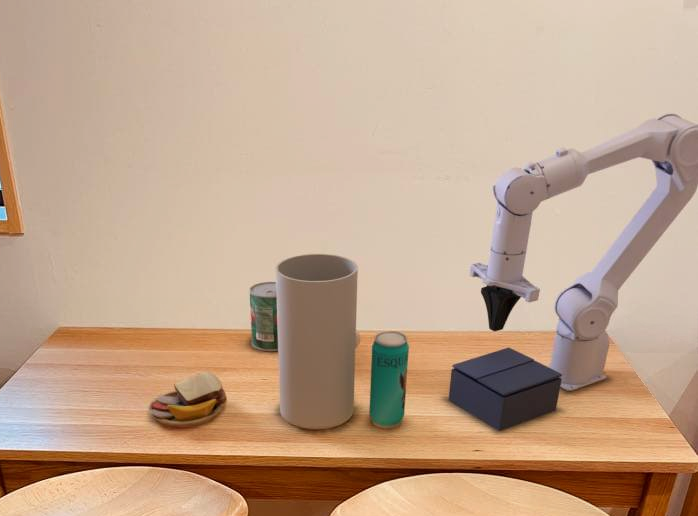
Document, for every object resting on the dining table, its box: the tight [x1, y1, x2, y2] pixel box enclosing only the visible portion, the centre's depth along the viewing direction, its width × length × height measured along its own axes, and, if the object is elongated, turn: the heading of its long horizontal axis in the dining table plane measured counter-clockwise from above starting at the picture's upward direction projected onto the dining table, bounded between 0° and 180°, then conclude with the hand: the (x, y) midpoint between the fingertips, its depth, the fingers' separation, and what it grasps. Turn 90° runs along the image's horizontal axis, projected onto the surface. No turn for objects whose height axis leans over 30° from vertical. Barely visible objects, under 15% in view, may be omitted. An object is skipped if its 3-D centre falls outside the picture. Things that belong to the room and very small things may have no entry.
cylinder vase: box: [275, 253, 359, 430], centre depth 136 cm, size 12×12×25 cm
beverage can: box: [369, 330, 410, 430], centre depth 136 cm, size 6×6×15 cm
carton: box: [447, 360, 562, 432], centre depth 143 cm, size 13×13×7 cm
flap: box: [451, 347, 535, 380], centre depth 143 cm, size 6×13×1 cm, turn 121°
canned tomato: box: [248, 281, 278, 352], centre depth 164 cm, size 8×8×11 cm
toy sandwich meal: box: [147, 371, 227, 428], centre depth 144 cm, size 12×14×5 cm
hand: (496, 329), depth 145 cm, fingers closed
